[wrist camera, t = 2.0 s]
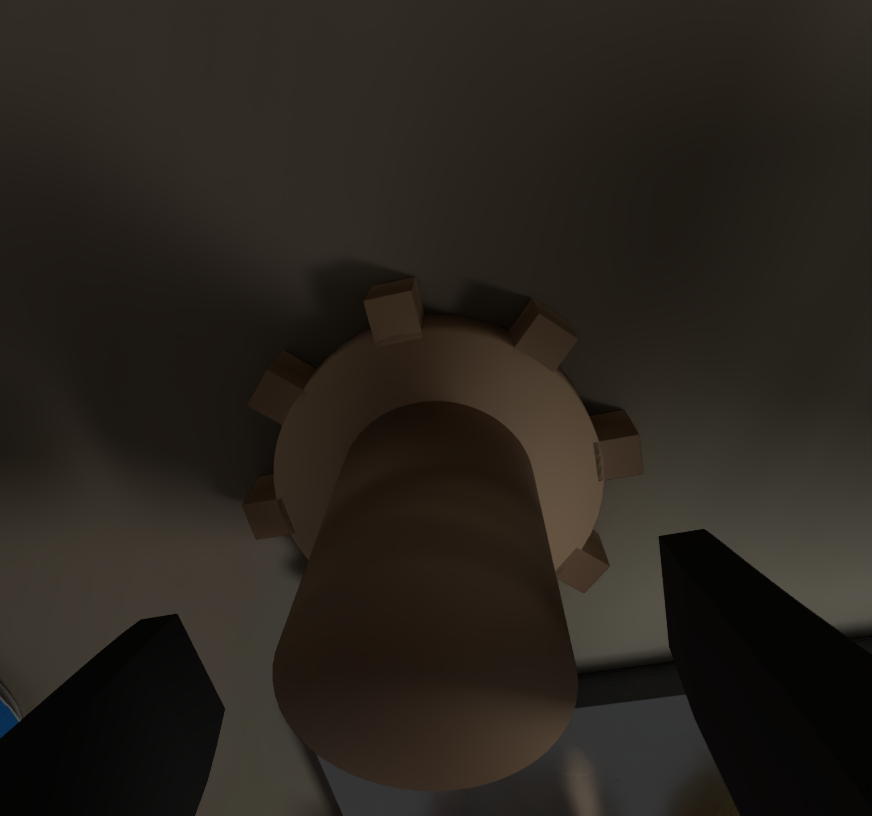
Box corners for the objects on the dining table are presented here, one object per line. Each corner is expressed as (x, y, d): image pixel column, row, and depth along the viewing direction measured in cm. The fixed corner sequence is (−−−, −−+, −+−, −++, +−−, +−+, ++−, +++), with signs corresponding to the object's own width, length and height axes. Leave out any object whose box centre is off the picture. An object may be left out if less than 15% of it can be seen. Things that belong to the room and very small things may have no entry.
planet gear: (604, 235, 12) (744, 327, 6) (643, 578, 15) (757, 853, 9) (199, 323, 13) (-16, 475, 7) (317, 627, 16) (237, 901, 10)
